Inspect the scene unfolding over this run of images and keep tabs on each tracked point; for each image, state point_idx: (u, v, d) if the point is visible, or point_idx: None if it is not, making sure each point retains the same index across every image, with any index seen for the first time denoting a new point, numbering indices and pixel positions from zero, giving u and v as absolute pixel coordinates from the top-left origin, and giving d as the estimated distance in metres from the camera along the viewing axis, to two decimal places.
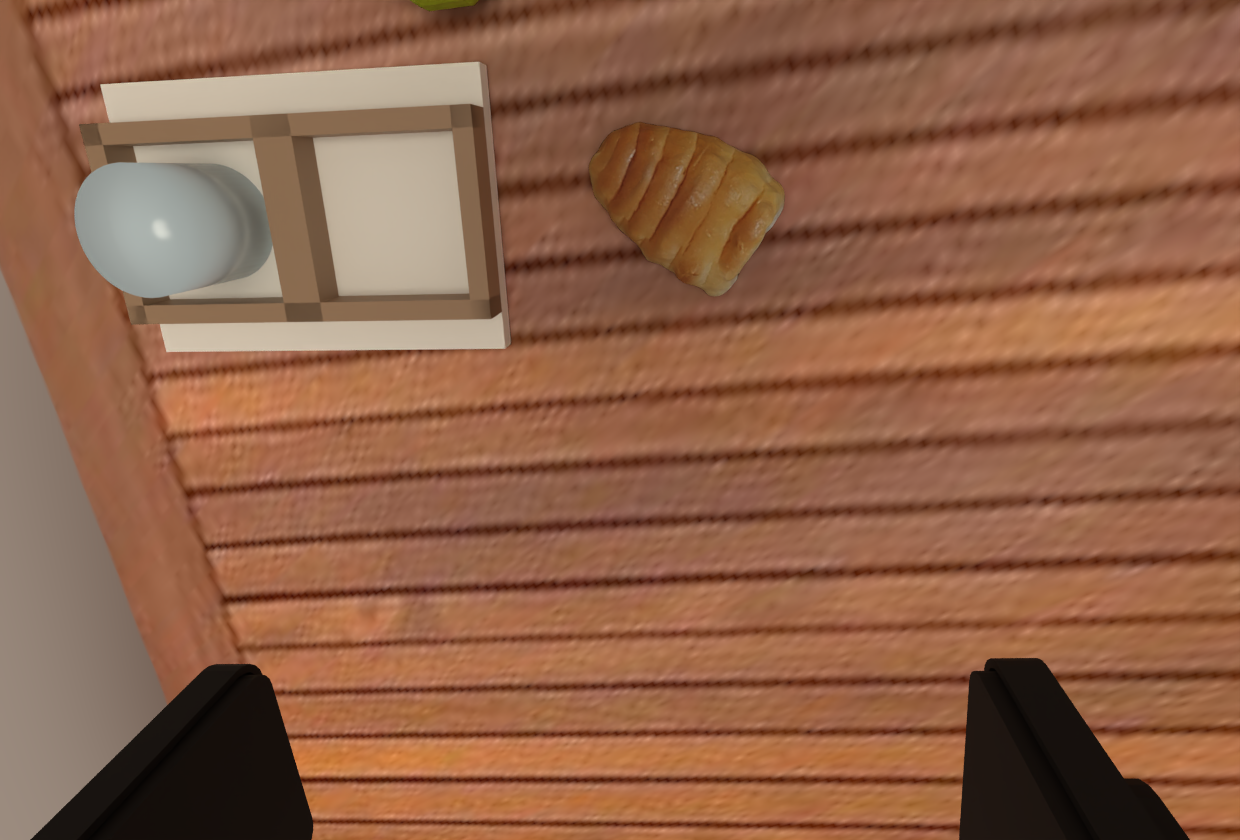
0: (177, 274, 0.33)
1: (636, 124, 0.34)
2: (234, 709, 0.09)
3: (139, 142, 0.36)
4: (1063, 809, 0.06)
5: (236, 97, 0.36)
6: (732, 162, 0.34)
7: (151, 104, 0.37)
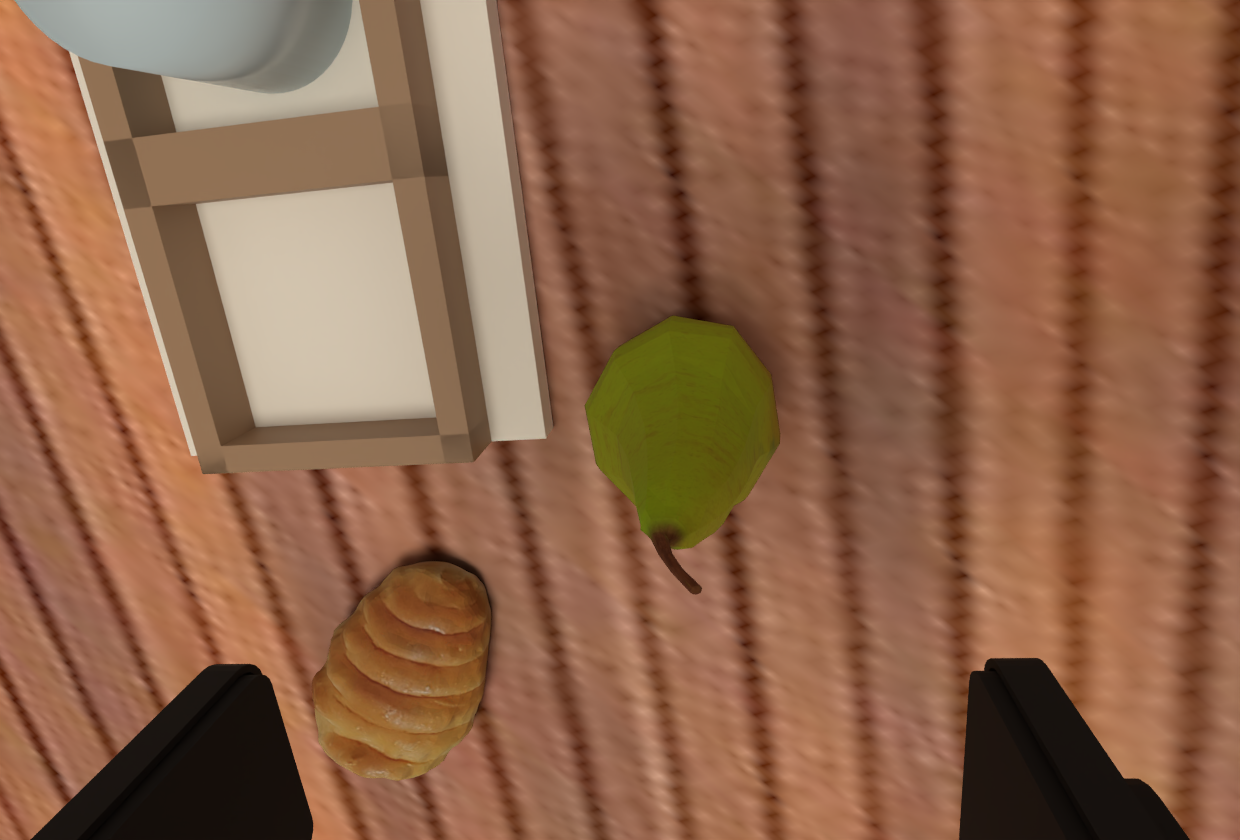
0: (47, 8, 0.17)
1: (480, 620, 0.28)
2: (234, 709, 0.09)
3: None
4: (1063, 809, 0.06)
5: (460, 43, 0.22)
6: (450, 729, 0.29)
7: None
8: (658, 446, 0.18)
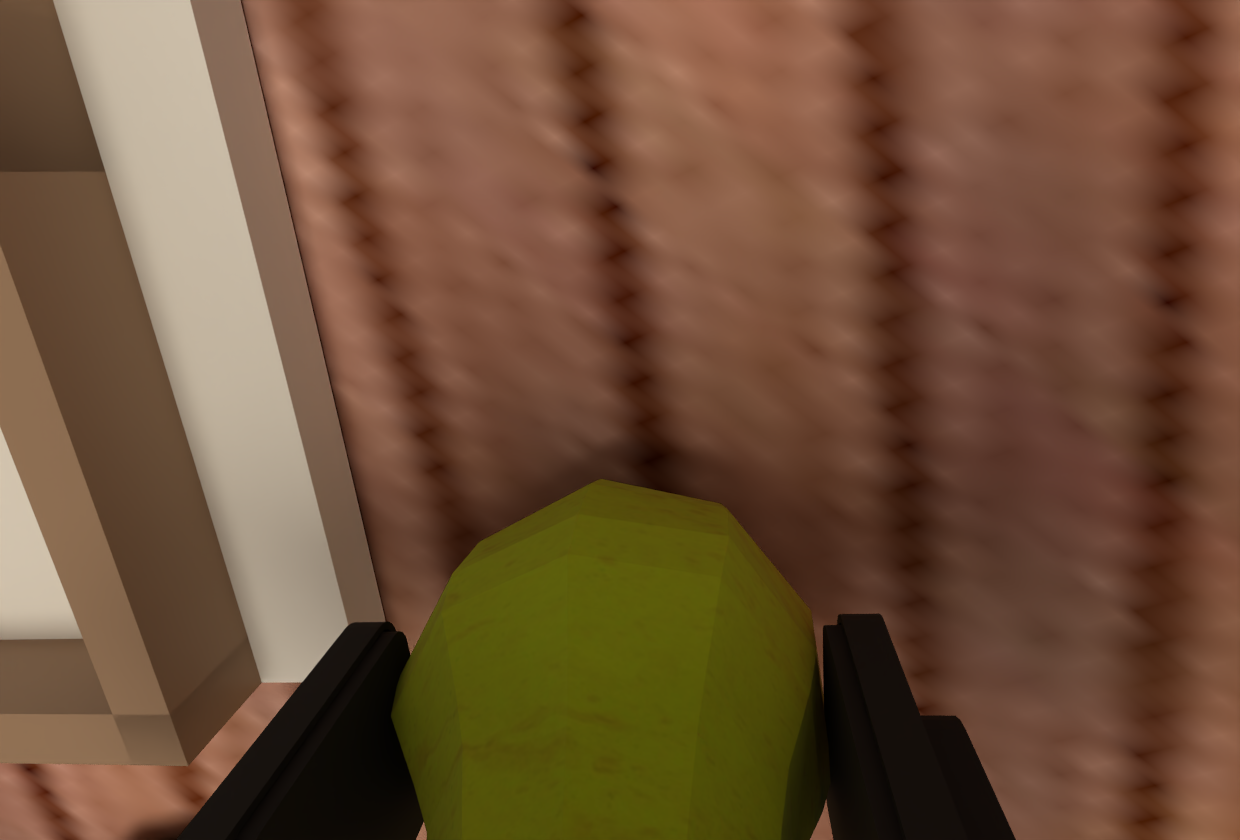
0: None
1: None
2: (382, 661, 0.10)
3: None
4: (862, 732, 0.07)
5: None
6: None
7: None
8: None
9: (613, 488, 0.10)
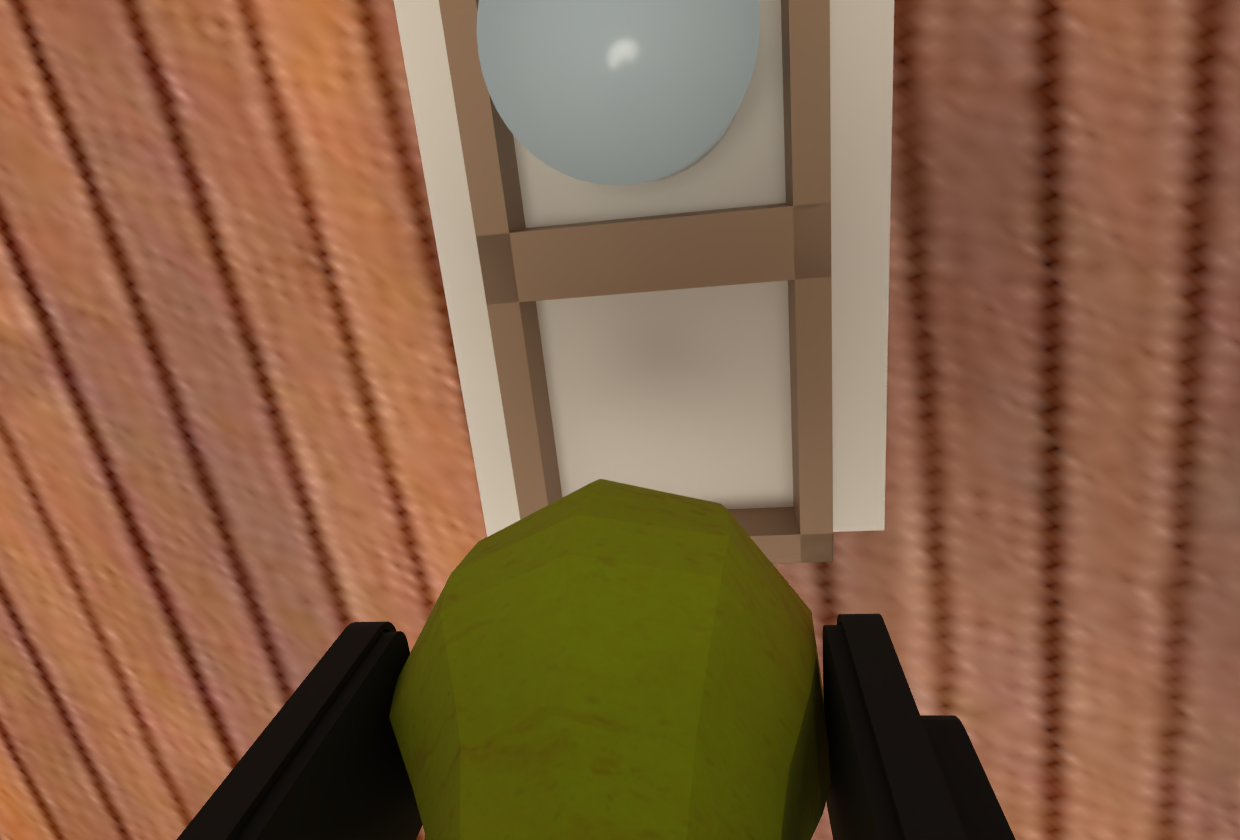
0: (535, 124, 0.16)
1: None
2: (382, 661, 0.10)
3: None
4: (862, 732, 0.07)
5: (857, 134, 0.21)
6: None
7: None
8: None
9: (612, 488, 0.10)
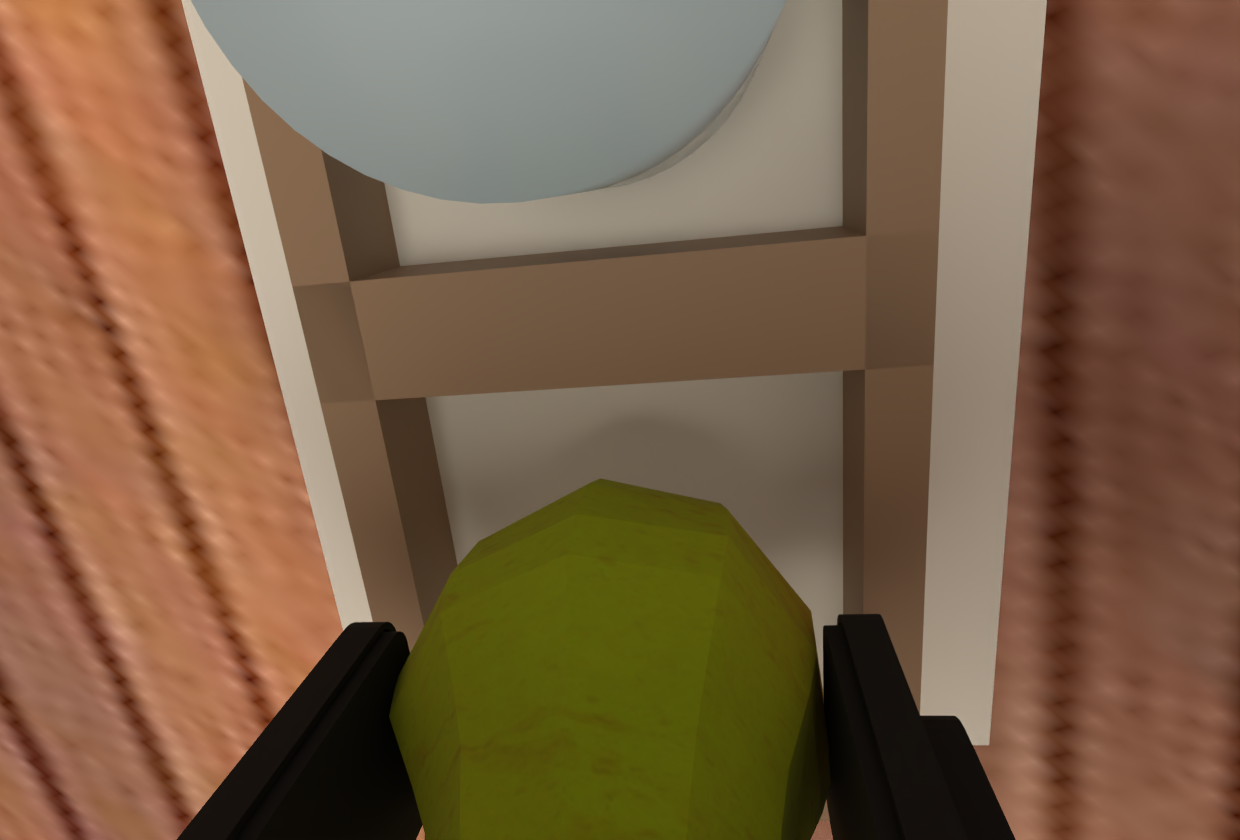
0: (297, 61, 0.07)
1: None
2: (382, 661, 0.10)
3: None
4: (862, 732, 0.07)
5: (974, 103, 0.11)
6: None
7: None
8: None
9: (612, 488, 0.10)
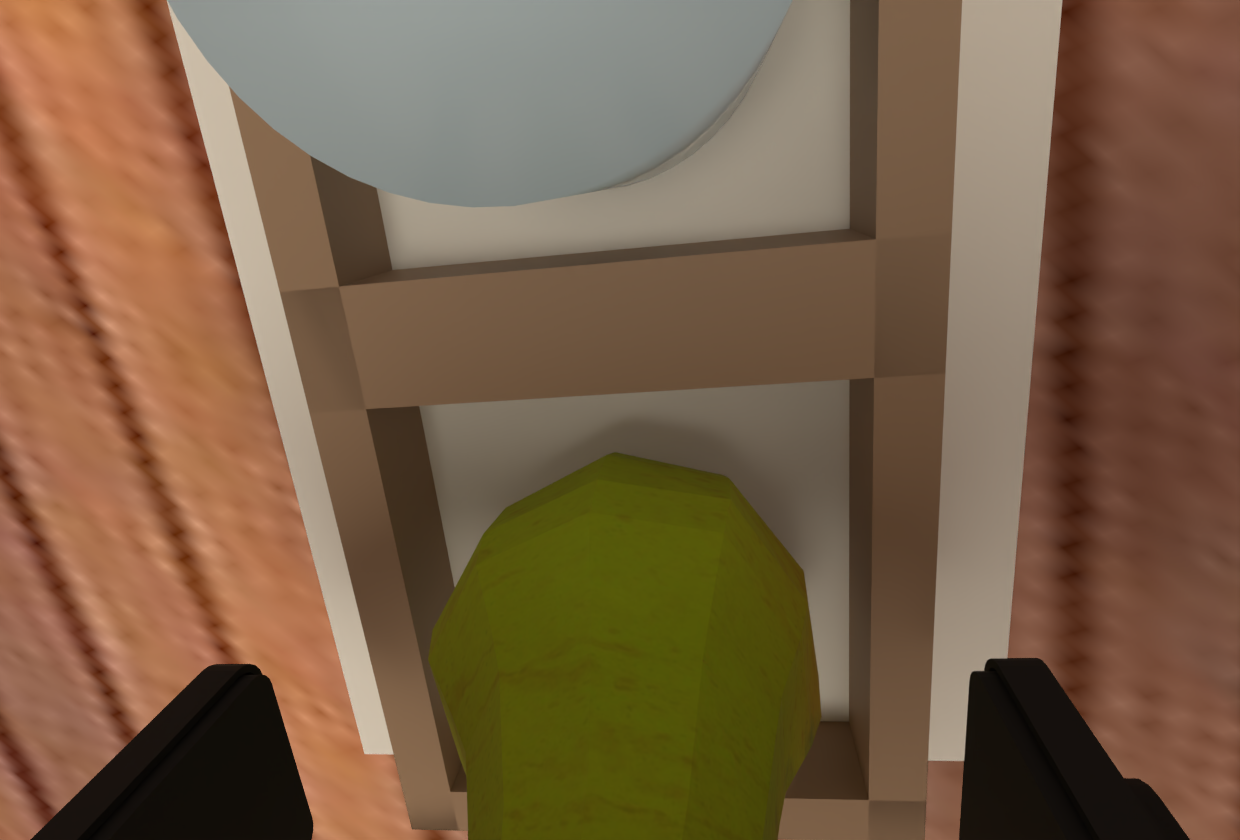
0: (275, 55, 0.06)
1: None
2: (234, 709, 0.09)
3: None
4: (1063, 809, 0.06)
5: (987, 102, 0.11)
6: None
7: None
8: None
9: (627, 459, 0.11)
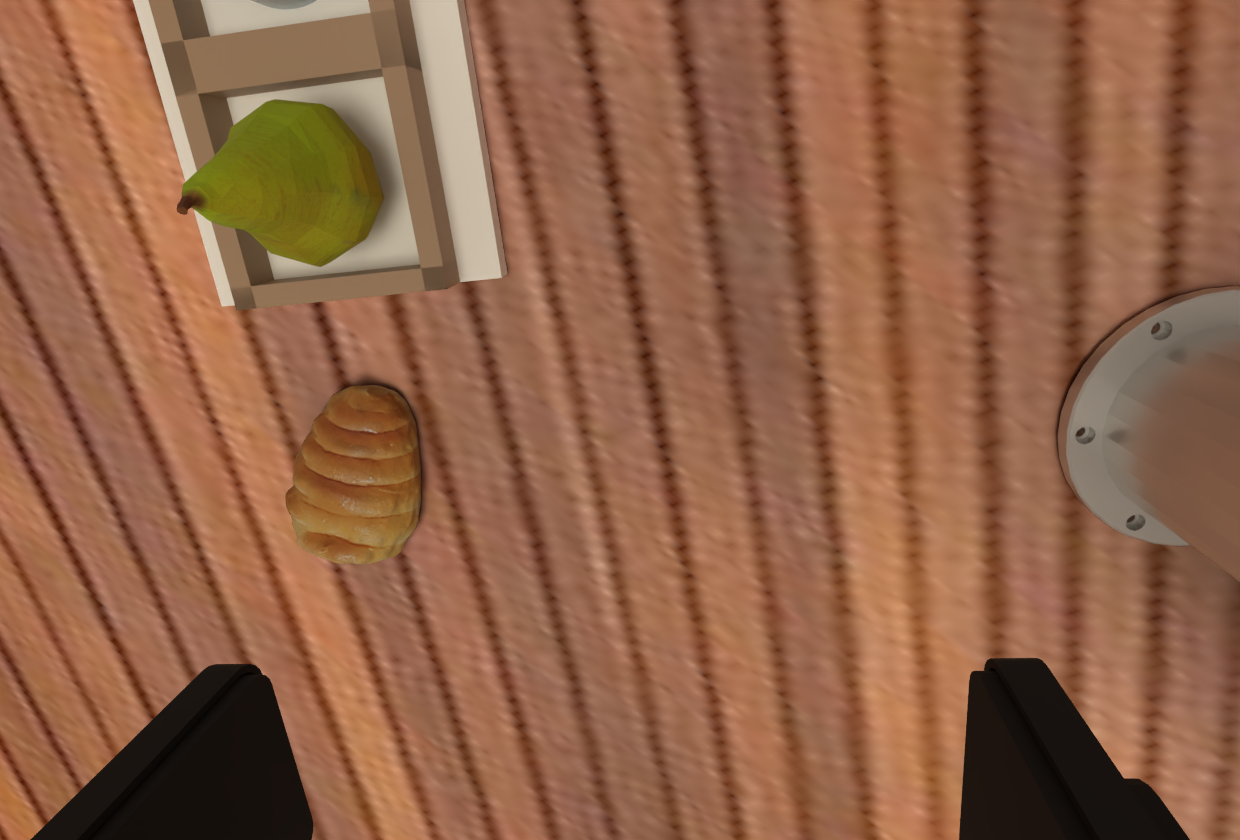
0: None
1: (404, 422, 0.36)
2: (234, 709, 0.09)
3: None
4: (1063, 809, 0.06)
5: None
6: (397, 515, 0.37)
7: None
8: (214, 156, 0.25)
9: None
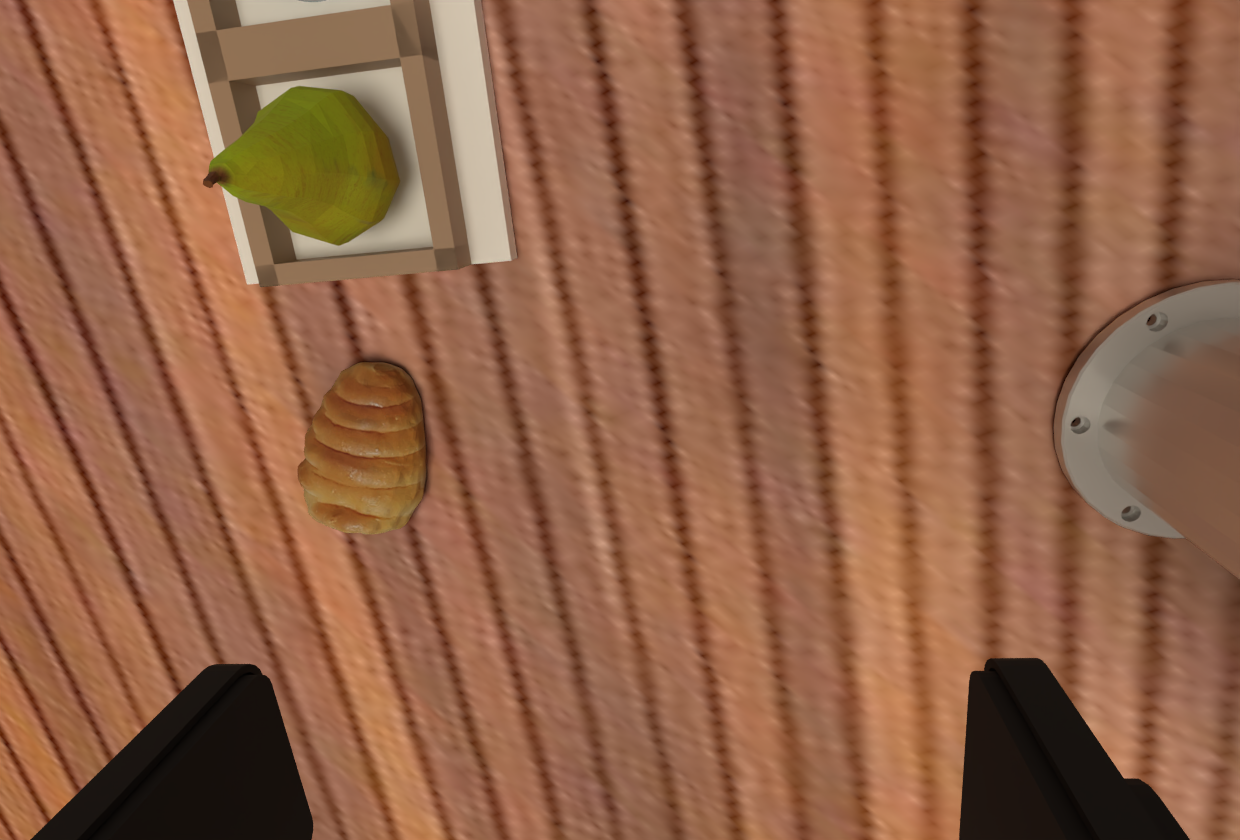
0: None
1: (408, 397, 0.38)
2: (234, 709, 0.09)
3: None
4: (1063, 810, 0.06)
5: None
6: (402, 487, 0.39)
7: None
8: (240, 137, 0.26)
9: None
